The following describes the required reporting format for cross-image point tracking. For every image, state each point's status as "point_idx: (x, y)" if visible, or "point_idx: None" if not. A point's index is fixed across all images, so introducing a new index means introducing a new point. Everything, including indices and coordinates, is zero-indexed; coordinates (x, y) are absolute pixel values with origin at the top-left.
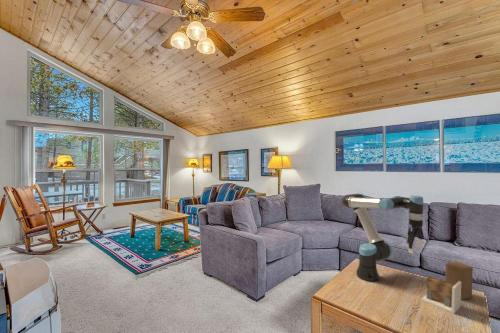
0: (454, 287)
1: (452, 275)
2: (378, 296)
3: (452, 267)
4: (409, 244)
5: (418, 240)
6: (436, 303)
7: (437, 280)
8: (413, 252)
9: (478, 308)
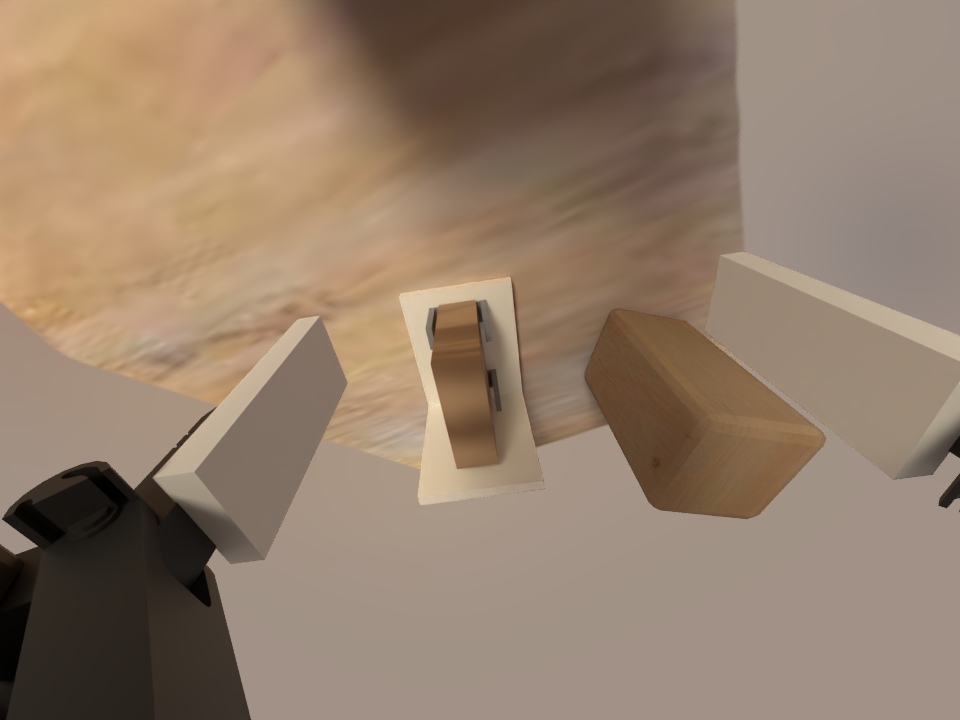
0: (428, 501)
1: (642, 411)
2: (148, 127)
3: (672, 453)
4: (152, 493)
5: (881, 368)
6: (427, 354)
7: (464, 407)
8: (341, 394)
9: (568, 426)
